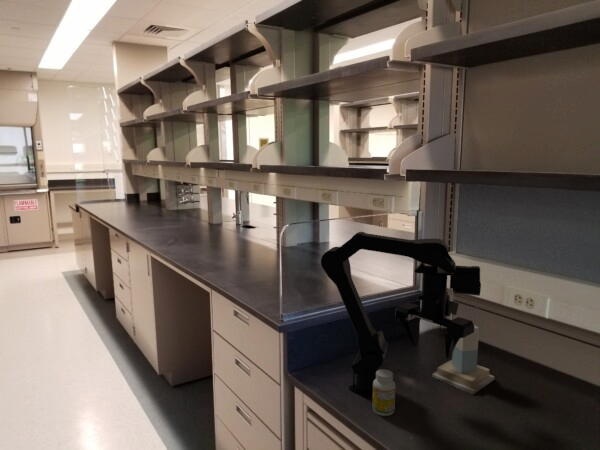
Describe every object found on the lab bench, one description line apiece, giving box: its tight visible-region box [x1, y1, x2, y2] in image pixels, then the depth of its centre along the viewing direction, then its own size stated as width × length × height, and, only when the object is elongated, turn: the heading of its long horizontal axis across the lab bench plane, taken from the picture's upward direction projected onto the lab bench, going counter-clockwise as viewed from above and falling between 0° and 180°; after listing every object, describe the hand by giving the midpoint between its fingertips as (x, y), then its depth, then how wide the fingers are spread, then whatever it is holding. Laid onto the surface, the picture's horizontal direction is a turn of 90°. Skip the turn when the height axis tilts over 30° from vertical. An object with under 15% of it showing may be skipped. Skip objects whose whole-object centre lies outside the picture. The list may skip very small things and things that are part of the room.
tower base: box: [431, 359, 495, 396], centre depth 119 cm, size 12×12×3 cm
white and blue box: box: [451, 324, 480, 373], centre depth 118 cm, size 5×5×12 cm
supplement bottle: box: [371, 368, 396, 417], centre depth 104 cm, size 5×5×10 cm
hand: (431, 352), depth 106 cm, fingers open, 9 cm apart
